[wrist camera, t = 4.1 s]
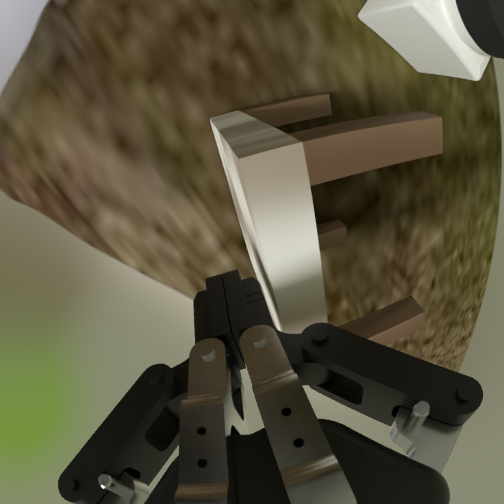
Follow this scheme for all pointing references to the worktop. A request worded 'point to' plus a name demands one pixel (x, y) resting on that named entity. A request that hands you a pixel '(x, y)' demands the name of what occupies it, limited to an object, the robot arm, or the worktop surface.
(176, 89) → the worktop surface
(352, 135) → the footstool
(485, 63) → the medicine bottle
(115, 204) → the worktop surface
